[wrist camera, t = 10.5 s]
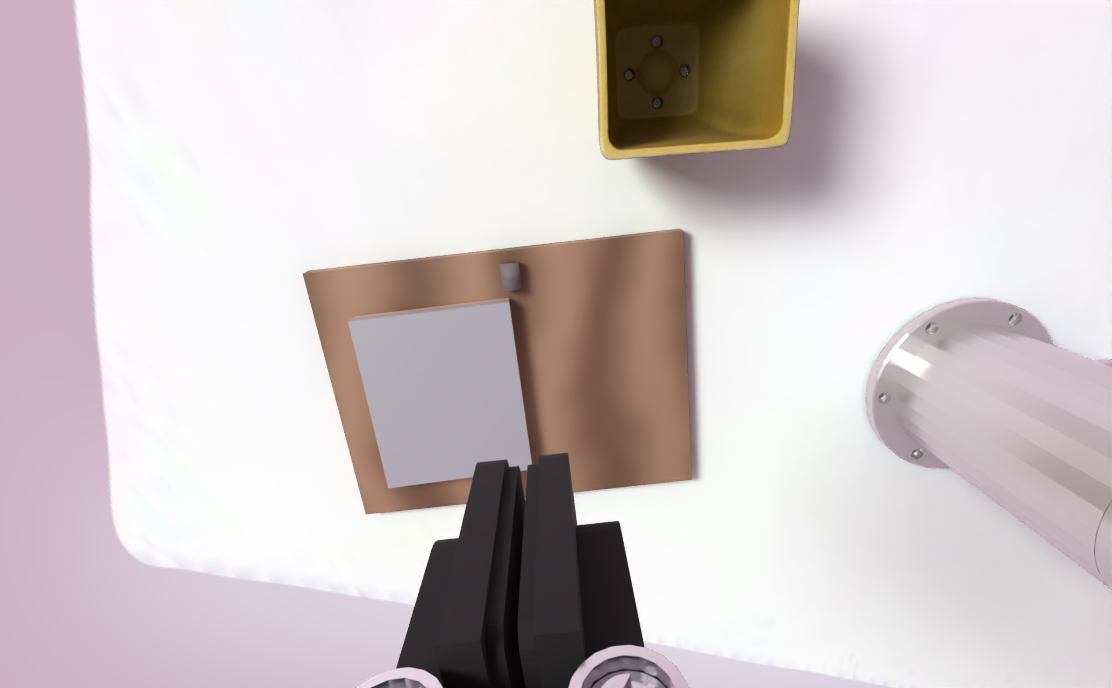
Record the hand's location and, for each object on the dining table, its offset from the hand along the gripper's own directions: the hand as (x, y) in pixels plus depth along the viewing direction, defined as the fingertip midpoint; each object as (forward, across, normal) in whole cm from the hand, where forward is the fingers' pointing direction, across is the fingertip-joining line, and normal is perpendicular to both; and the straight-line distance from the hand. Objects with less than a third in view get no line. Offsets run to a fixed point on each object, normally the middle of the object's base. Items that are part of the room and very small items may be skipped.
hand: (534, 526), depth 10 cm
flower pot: (+27, -8, -10) cm, 30 cm away
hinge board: (+27, +3, +8) cm, 28 cm away
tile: (+24, +7, +8) cm, 27 cm away
